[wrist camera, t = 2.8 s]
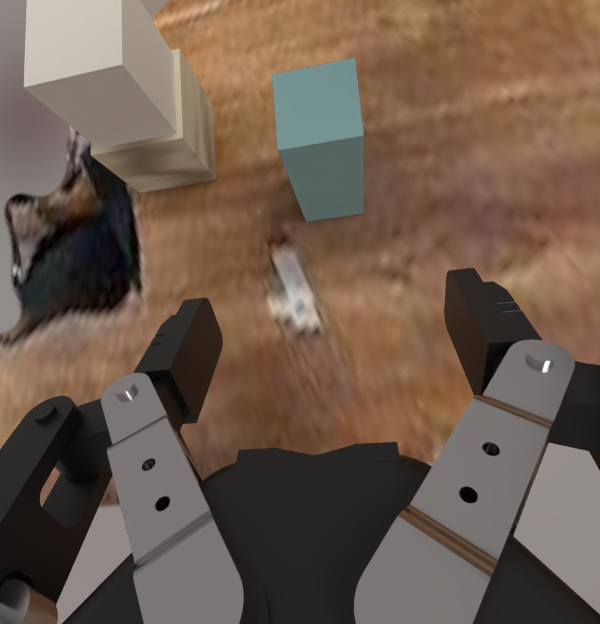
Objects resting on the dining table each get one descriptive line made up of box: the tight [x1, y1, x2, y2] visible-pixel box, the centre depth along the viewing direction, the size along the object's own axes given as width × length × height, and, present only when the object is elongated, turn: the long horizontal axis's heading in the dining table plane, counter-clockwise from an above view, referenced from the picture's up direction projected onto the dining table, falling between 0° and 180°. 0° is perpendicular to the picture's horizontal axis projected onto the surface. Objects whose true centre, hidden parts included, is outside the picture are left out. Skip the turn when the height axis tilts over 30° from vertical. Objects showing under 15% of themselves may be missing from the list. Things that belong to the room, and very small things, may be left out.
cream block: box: [24, 0, 177, 149], centre depth 24 cm, size 6×6×6 cm
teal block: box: [272, 58, 364, 222], centre depth 25 cm, size 4×4×10 cm
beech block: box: [91, 48, 216, 193], centre depth 30 cm, size 7×7×6 cm
